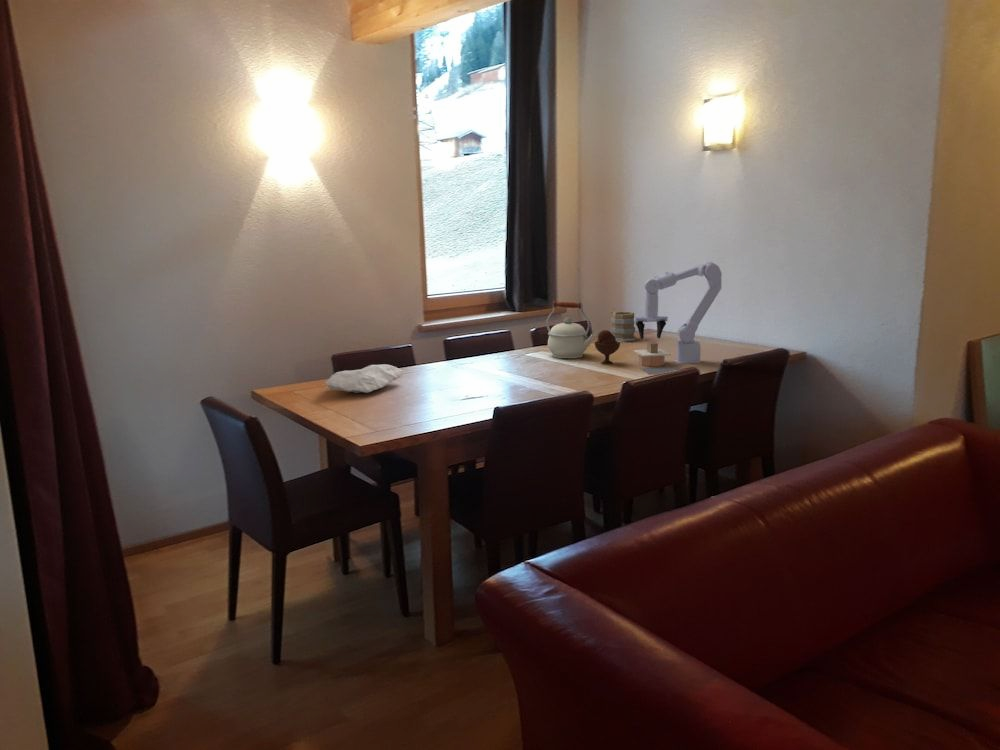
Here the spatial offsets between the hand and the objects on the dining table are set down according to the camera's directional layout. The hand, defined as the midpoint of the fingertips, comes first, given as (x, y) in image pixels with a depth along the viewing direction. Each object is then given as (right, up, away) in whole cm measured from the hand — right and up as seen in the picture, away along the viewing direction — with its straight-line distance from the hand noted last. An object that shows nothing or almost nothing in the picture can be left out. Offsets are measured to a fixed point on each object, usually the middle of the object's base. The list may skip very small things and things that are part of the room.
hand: (650, 338), depth 328 cm
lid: (0, -7, -5) cm, 9 cm away
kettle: (-33, -8, +18) cm, 38 cm away
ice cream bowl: (-19, -11, -1) cm, 22 cm away
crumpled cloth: (-118, -22, -39) cm, 126 cm away
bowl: (0, -12, -4) cm, 12 cm away
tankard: (-4, +2, +60) cm, 60 cm away
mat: (+2, -15, -18) cm, 23 cm away
